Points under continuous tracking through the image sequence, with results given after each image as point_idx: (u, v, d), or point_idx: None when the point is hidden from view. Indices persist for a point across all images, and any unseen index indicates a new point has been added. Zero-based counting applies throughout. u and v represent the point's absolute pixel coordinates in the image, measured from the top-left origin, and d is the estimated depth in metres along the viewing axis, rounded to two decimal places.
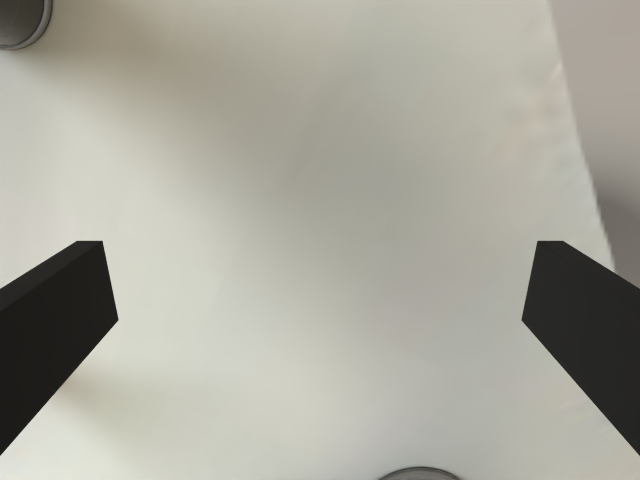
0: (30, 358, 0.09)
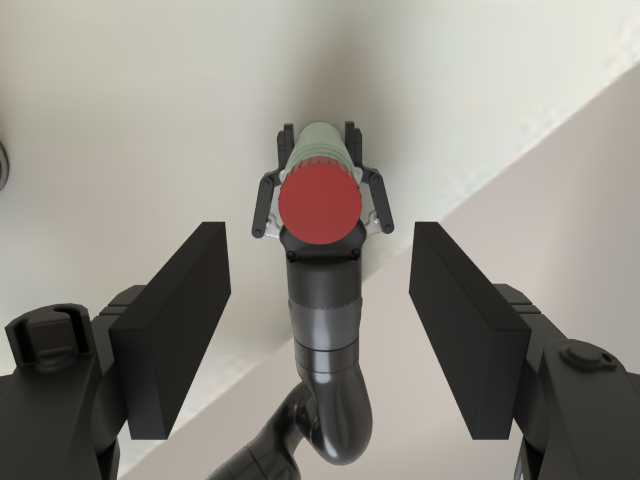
0: (198, 315, 0.11)
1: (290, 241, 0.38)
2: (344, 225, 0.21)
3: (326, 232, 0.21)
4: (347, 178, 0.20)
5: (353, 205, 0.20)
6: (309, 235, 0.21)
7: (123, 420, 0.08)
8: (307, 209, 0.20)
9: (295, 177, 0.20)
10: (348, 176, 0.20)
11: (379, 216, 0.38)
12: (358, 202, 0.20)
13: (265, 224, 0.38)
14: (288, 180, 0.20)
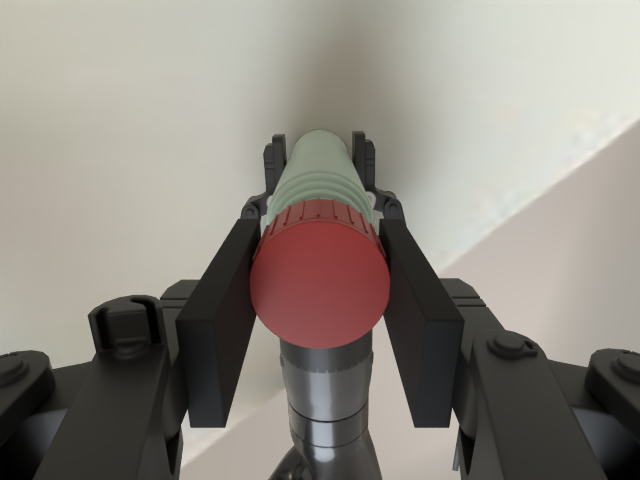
0: (243, 309, 0.11)
1: None
2: (361, 320, 0.12)
3: (330, 330, 0.12)
4: (367, 245, 0.11)
5: (377, 288, 0.12)
6: (302, 335, 0.12)
7: (185, 408, 0.08)
8: (298, 295, 0.12)
9: (277, 243, 0.11)
10: (369, 241, 0.11)
11: None
12: (386, 284, 0.12)
13: None
14: (265, 248, 0.11)
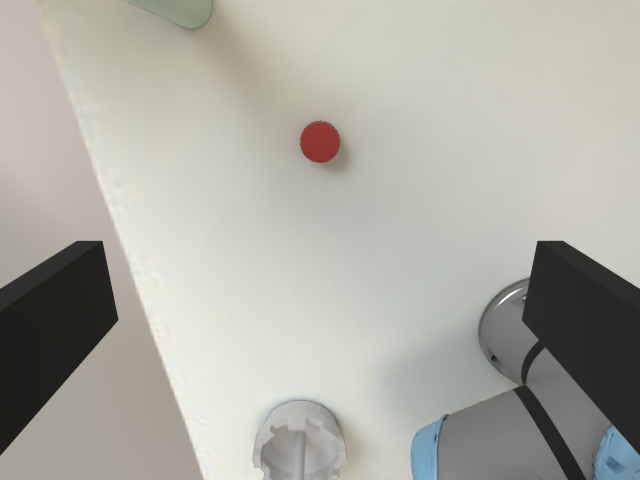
0: (29, 359, 0.09)
1: None
2: (333, 150, 0.44)
3: (325, 155, 0.44)
4: (330, 127, 0.43)
5: (335, 140, 0.44)
6: (317, 158, 0.44)
7: None
8: (314, 146, 0.44)
9: (306, 131, 0.43)
10: (330, 126, 0.43)
11: None
12: (337, 138, 0.44)
13: None
14: (303, 133, 0.43)
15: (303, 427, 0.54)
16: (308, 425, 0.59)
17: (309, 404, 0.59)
